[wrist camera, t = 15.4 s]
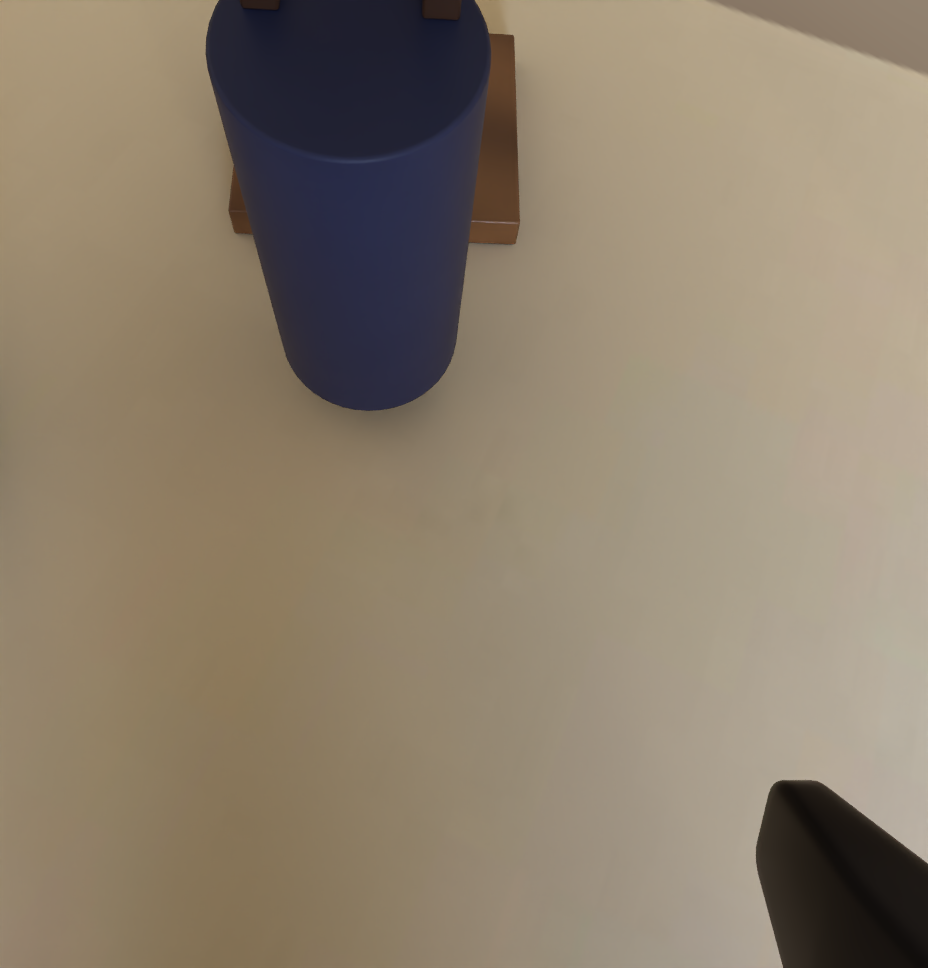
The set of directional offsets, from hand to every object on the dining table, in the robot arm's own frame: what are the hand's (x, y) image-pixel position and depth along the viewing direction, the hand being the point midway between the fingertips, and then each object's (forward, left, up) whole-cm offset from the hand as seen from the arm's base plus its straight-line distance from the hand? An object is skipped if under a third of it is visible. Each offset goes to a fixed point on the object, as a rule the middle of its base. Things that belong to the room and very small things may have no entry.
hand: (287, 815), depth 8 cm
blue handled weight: (+7, +9, -11) cm, 16 cm away
